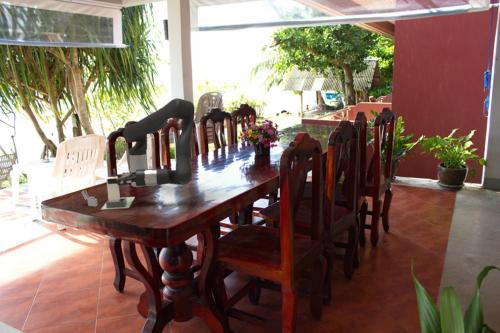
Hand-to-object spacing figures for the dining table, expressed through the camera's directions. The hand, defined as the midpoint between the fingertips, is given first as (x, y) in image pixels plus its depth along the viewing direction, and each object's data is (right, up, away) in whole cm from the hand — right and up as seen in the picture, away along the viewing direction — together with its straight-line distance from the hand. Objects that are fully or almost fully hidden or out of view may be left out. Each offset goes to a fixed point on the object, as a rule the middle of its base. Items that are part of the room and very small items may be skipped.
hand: (109, 179), depth 195 cm
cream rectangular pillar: (+1, -12, +3) cm, 12 cm away
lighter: (-10, -13, +5) cm, 18 cm away
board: (+2, -12, +7) cm, 14 cm away
